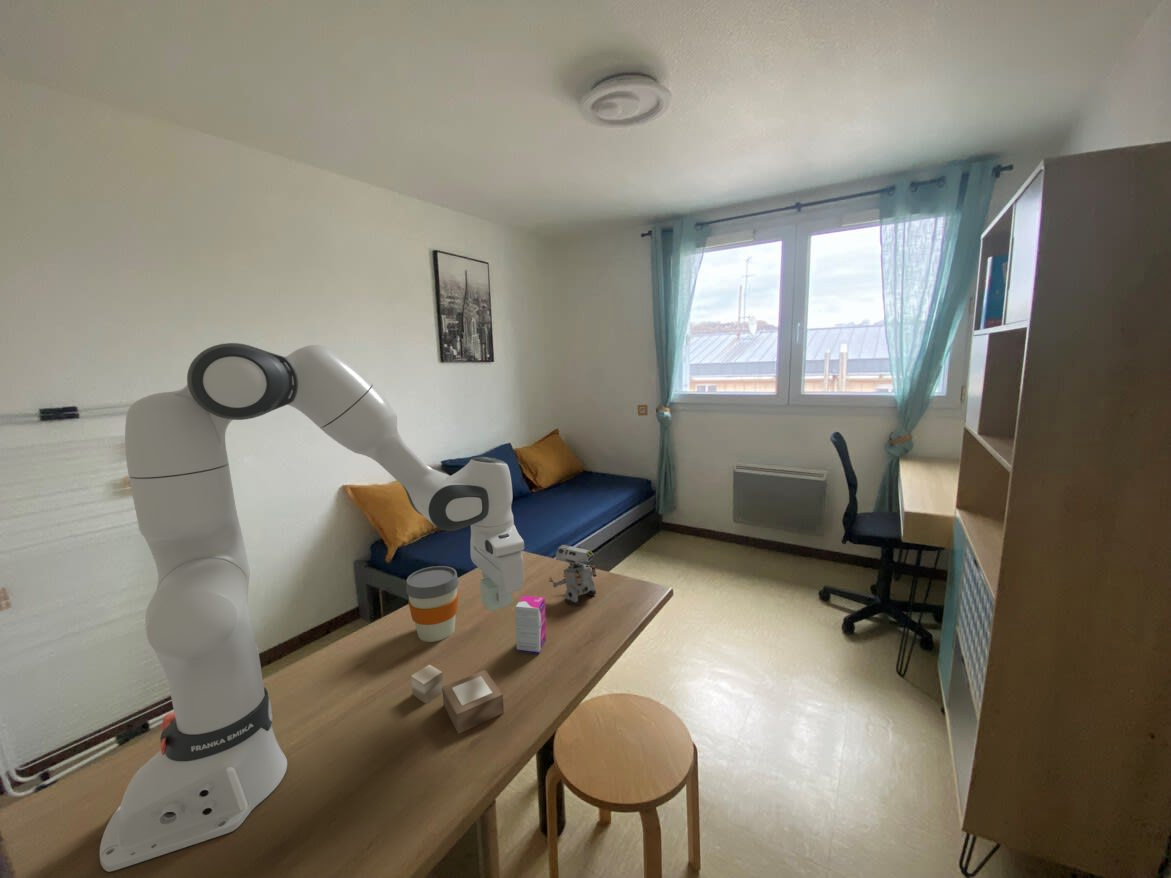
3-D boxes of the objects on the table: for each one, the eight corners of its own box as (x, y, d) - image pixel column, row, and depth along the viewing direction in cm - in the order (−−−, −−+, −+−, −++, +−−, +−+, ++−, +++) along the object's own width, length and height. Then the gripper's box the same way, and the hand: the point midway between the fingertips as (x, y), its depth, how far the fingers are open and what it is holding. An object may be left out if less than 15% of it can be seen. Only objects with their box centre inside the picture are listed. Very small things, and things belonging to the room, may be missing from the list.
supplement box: (540, 654, 108) (538, 608, 107) (516, 652, 110) (513, 606, 108) (547, 640, 114) (545, 596, 112) (524, 637, 115) (521, 594, 113)
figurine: (570, 585, 142) (568, 538, 140) (600, 596, 135) (598, 547, 132) (549, 597, 135) (547, 548, 133) (579, 609, 128) (578, 558, 125)
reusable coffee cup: (442, 649, 111) (437, 591, 109) (399, 641, 115) (393, 584, 113) (471, 622, 123) (467, 568, 121) (431, 615, 127) (427, 563, 125)
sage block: (490, 611, 96) (488, 588, 96) (481, 601, 100) (480, 579, 100) (512, 604, 99) (511, 582, 98) (502, 595, 103) (501, 573, 102)
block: (425, 703, 94) (423, 684, 93) (412, 695, 96) (410, 675, 96) (443, 691, 97) (442, 672, 96) (431, 683, 100) (429, 664, 99)
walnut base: (458, 733, 86) (456, 713, 85) (443, 705, 93) (442, 686, 92) (503, 712, 90) (502, 693, 90) (486, 687, 98) (485, 669, 97)
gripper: (461, 523, 104) (465, 581, 106) (497, 552, 87) (501, 620, 89) (488, 517, 108) (491, 574, 110) (528, 544, 91) (530, 610, 93)
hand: (496, 595), depth 99 cm, fingers closed on sage block, 5 cm apart
